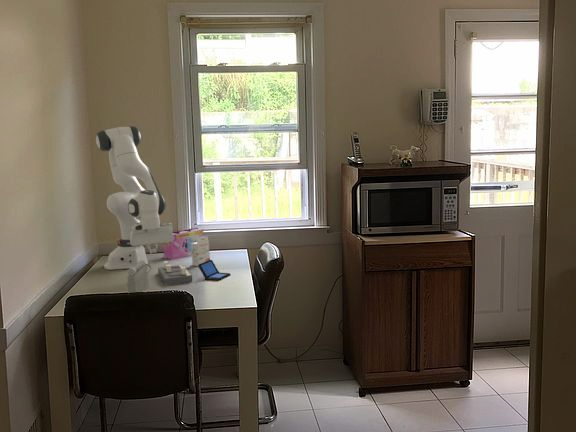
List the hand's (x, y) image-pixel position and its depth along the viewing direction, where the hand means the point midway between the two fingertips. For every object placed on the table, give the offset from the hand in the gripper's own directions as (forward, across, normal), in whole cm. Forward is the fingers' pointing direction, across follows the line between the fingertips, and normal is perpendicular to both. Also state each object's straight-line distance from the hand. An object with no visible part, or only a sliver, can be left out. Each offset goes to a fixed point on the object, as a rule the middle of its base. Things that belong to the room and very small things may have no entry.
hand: (153, 253), depth 284 cm
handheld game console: (+13, -26, +15) cm, 33 cm away
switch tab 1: (+8, -6, -1) cm, 10 cm away
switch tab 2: (+8, -6, +7) cm, 12 cm away
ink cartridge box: (+12, -26, -15) cm, 32 cm away
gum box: (+11, -22, -42) cm, 49 cm away
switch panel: (+12, -8, +7) cm, 16 cm away
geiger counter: (+12, +11, +33) cm, 37 cm away
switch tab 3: (+9, -11, +15) cm, 21 cm away
